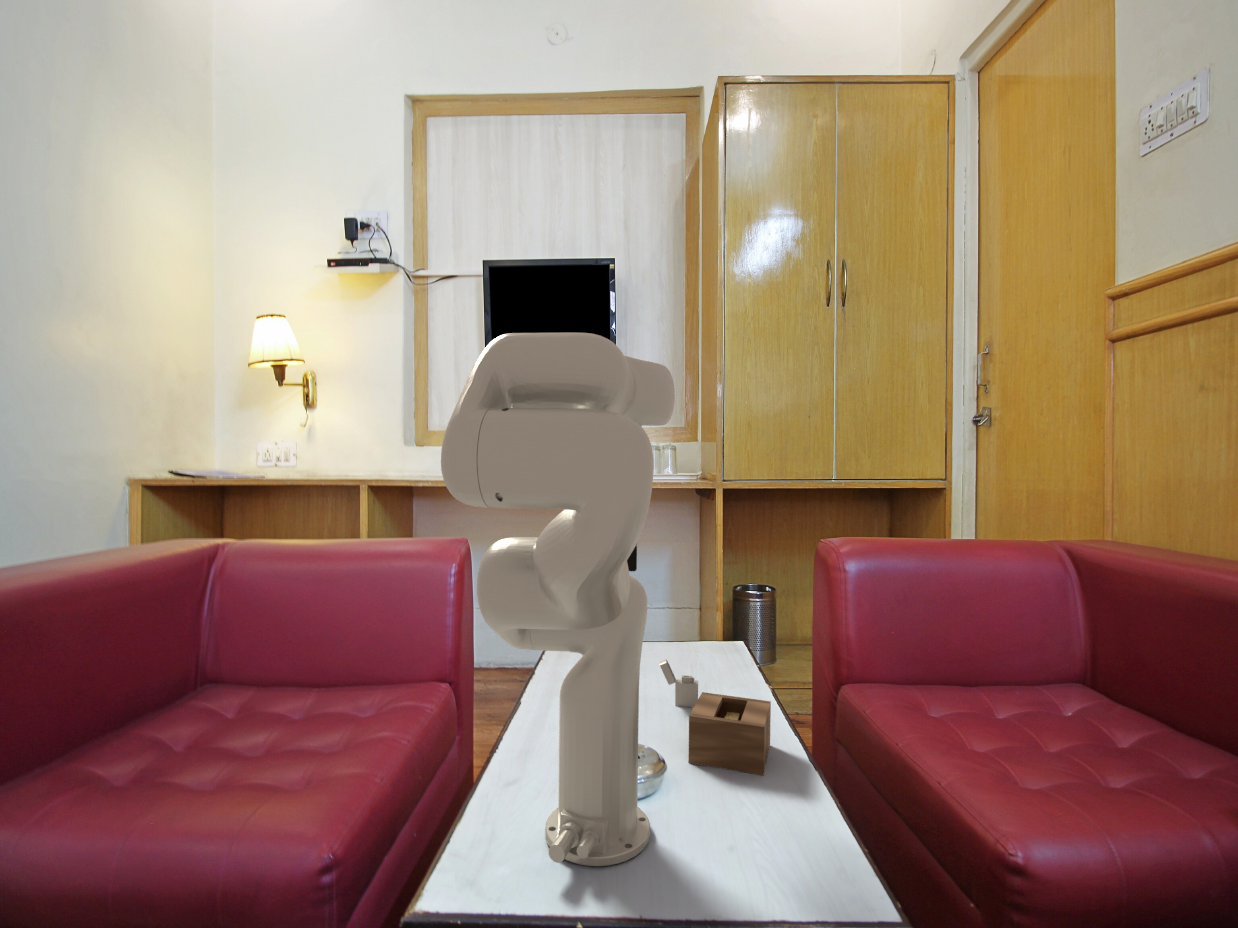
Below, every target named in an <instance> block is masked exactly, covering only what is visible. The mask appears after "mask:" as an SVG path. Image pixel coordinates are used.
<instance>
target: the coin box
mask: <svg viewBox="0 0 1238 928" xmlns="http://www.w3.org/2000/svg"><path fill="white" fill-rule="evenodd" d="M771 705H772V704H771V701H770V700H763V699H754V698H747V697H741V696H732V695H727V694H726V695H725V694H720V693H719V694H718V693H711V692H704V691H702V692H701V693H700V696H698V701H697V702H696V704H695V706H694V707H692V710H691V712H690V713H689V715H688V760H687V761H688V763H689V764H695V765H700V766H706V767H710V768H711V767H712V768H716V769H717V768H718V769H723V770H729V771H736V772H741V773H748V774H752V775H758V776H764V775H765V772H766V767H767V763H768V758H769V751H770V748H771V711H772V710H771ZM727 712H734V713H740V721H739V720H732V719H726V718H725V716H726V713H727Z"/></svg>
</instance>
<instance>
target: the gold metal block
mask: <svg viewBox="0 0 1238 928" xmlns="http://www.w3.org/2000/svg"><path fill="white" fill-rule="evenodd" d="M725 718H726V719H732V720H739V721H740V713H734V712H727V713H726V716H725Z"/></svg>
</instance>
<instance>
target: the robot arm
mask: <svg viewBox="0 0 1238 928" xmlns="http://www.w3.org/2000/svg"><path fill="white" fill-rule="evenodd" d="M675 391H676V390H675V383H674V379H673V376H672V372H671V371H670V370H669V368H668V367H667V366H665V365H664V364H660V363H657V362H653V361H648V360H643V359H639V358H635V357H632V356H627V355H625V354H624V353H623V352H622V350H621V349H620V347H618V346H617V344H615V343H614V342H613V341H611V340H610V339H608V338H606V337H604V336H602V335H599V334H595V333H588V332H512V333H510V332H509V333H504V334H501V335H499V336H497V337H496V338H493V339H492V340H491V341H490V342H489V343H488V344H487V345H486V347H484V349H483V350H482V352H480V355H479V356H478V358H477V360H476V361H475V363H474V365H473V367H472V369H471V370H470V373H469V376H468V377H467V380H466V382H465V385H464V387H463V389H462V392H461V393H460V395H459V397H458V400H457V402H456V405H455V407H454V408H453V412H452V414H451V416H450V418H449V421H448V423H447V426H446V429H445V433H444V436H443V440H442V444H441V453H440V468H441V469H440V470H441V475H442V478H443V483H444V484H445V487H446V489H447V490H448V491H449V494H450V495H452V497H453V498H454V499H456V500H457V501H459V502H460V503H462V504H464V505H466V506H470V507H474V508H475V507H476V508H477V507H478V508H486V509H521V510H522V509H524V510H525V509H527V510H528V509H529V510H533V509H534V510H562V511H561V512H560V513H558V514H557V515H555V517H554V518H553V519H552V520H551V521H550V522H549V523H547V525H546V526H545V527H544V529H543V530H542V531H541V532H540V534H539V536H538V537H536V536H533V537H532V536H514V537H513V536H512V537H506V538H505V537H504V538H502V539H499V540H497V541H495V542H494V543H492V544H491V545H490V546H489V547H488V549H487V550H485V552H484V555H483V556H482V559H481V561H480V564H479V567H478V572H477V579H476V595H477V596H476V597H477V601H478V605H479V610H480V613H481V615H482V618H483V619H484V621H485V623H486V625H488V627H489V628H490V629H491V630H492V631H494V633H495V634H496V635H498V636H499V637H500V638H501V639H502V640H503V641H504V642H505V643H507V645H509V646H510V647H513V648H515V649H519V650H526V651H527V650H528V651H546V652H547V651H548V652H549V651H550V652H569V653H576V654H579V655H580V654H581V655H582V656H581V658H579V660H578V661H576V663H574V665H573V666H572V667H571V668H570V670H569V671H568V672H567V674H566V675H565V677H564V678H563V682H562V684H561V686H560V691H559V719H558V720H559V721H558V722H559V732H558V733H559V735H558V737H559V738H558V740H559V741H558V743H559V745H558V806H557V808H556V809H554V810H553V811H552V813H550V814H549V816H548V818H547V820H546V823H545V827H544V828H545V829H544V831H545V833H544V834H545V840H546V842H547V845H548V847H549V848H548V856H549V858H550V859H551V860H552V862H554V863H558V864H559V863H562V862H563V861H564V860H566V861H568V862H571V863H574V864H576V865H577V864H578V865H581V866H589V867H605V866H611V865H618V864H620V863H623V862H627V861H628V860H630V859H632V858H634V857H636V856H637V855H639V854H640V853H642V851H643V850H644V849H645V848H646V846H647V845H648V843H649V841H650V836H651V823H650V820H649V817H648V816H647V815H646V813H645V812H644V811H643V810H642V809H641V808H640V807H638V798H639V797H638V796H639V795H638V793H639V792H638V791H639V787H638V786H639V783H638V781H639V710H640V709H639V706H640V705H639V704H640V703H639V700H640V674H641V673H640V672H641V669H640V668H641V657H642V650H643V649H642V648H643V643H644V635H645V629H646V624H647V617H648V616H647V615H648V597H647V593H646V589H645V588H644V585H642V583H641V582H640V581H639V580H637V578H634V577H633V576H630V572H636V571H637V569H638V567H637V566H638V546H637V545H638V542H639V540H640V537H641V536H642V533H643V531H644V528H645V524H646V521H647V519H648V518H647V517H648V514H649V511H650V510H649V509H650V504H651V497H652V492H653V483H654V482H653V481H654V454H653V447H652V443H651V440H650V438H649V436H648V434H647V432H646V431H645V429H644V428H643V426H644V427H645V426H646V427H648V426H649V427H651V426H653V427H654V426H655V427H657V426H659V427H660V426H665V425H667V424H668V423H669V422H670V420H671V418H672V416H673V413H674V409H675V402H676V401H675V399H676V397H675V396H676V395H675Z"/></svg>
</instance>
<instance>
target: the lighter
mask: <svg viewBox="0 0 1238 928" xmlns="http://www.w3.org/2000/svg"><path fill="white" fill-rule="evenodd" d="M659 667H660V669H661V671H662V674H663V675H664V678H665V680H666V681H667V684H668V686H670V685H673V684H675V686H674V688H675V690H674V692H675V695H674V696H675V697H674V699H675V701H674V705H675V707H683V708H684V707H685V708H694V706H695V704H696V702H697V701H698V699H699V680H695V677H693V676H692V675H685V674H681V679H677V678H676V677H675V675H674V672H673V669H672V667H671V666H670V663H669V661H668V659H664V660H662V661H660V662H659Z"/></svg>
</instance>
